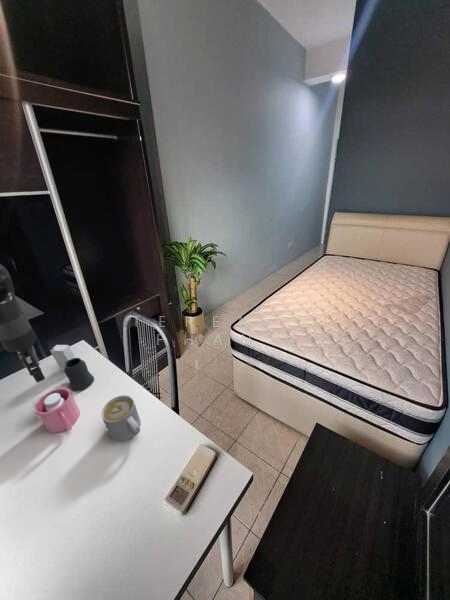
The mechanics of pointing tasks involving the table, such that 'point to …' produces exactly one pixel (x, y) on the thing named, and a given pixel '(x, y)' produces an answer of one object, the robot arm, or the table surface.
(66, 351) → the cosmetic box
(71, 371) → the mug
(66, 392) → the pink ribbed cup
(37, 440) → the table surface
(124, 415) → the coffee mug
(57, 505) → the table surface
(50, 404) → the pill bottle
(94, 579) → the table surface
